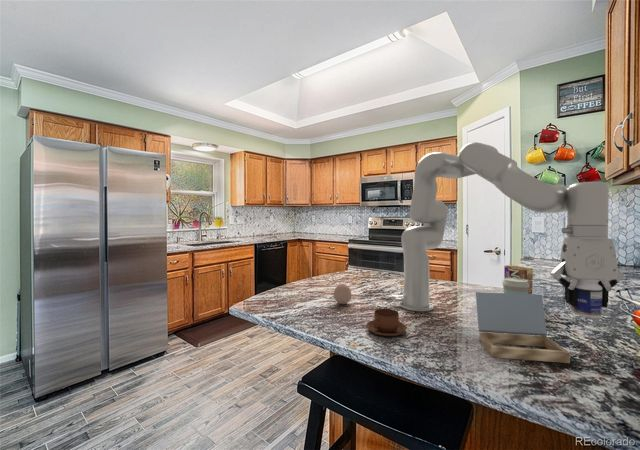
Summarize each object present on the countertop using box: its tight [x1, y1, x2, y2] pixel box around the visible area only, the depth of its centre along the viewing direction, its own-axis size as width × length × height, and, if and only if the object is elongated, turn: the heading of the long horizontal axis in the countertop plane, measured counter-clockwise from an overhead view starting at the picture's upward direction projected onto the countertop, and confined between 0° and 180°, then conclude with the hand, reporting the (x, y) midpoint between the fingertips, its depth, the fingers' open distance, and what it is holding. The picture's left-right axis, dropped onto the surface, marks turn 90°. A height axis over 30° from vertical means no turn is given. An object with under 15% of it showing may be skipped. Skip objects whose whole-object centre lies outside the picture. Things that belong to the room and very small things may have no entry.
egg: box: [333, 283, 352, 305], centre depth 121 cm, size 7×7×8 cm
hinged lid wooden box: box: [478, 331, 571, 364], centre depth 78 cm, size 17×10×2 cm, turn 79°
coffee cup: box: [501, 277, 530, 294], centre depth 109 cm, size 8×9×12 cm
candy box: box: [503, 264, 534, 294], centre depth 118 cm, size 9×4×15 cm, turn 26°
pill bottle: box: [570, 279, 603, 319], centre depth 74 cm, size 6×6×10 cm
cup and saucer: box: [366, 308, 408, 337], centre depth 92 cm, size 12×12×6 cm
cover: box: [475, 291, 548, 337], centre depth 84 cm, size 17×11×1 cm
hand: (586, 304), depth 74 cm, fingers closed on pill bottle, 5 cm apart
